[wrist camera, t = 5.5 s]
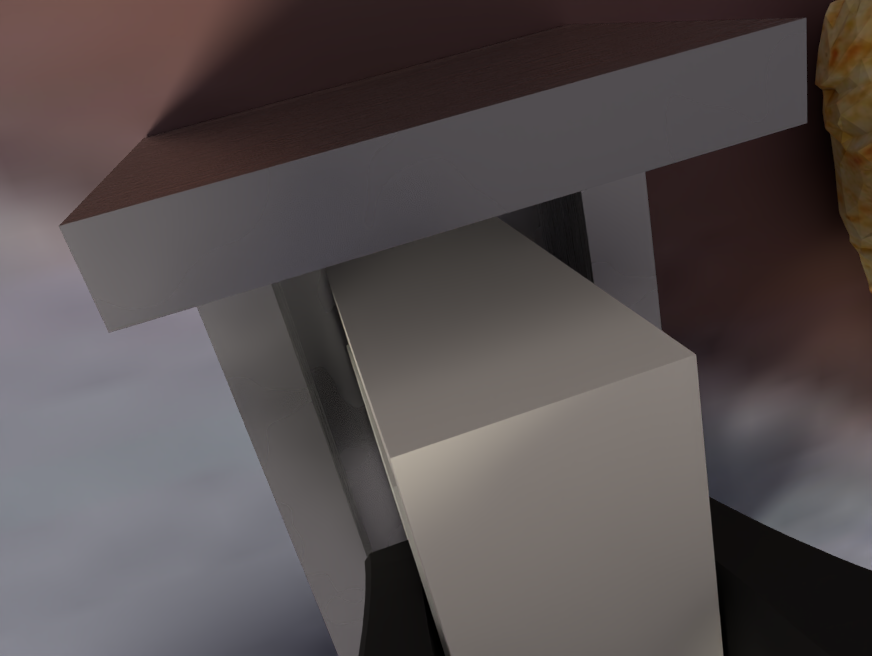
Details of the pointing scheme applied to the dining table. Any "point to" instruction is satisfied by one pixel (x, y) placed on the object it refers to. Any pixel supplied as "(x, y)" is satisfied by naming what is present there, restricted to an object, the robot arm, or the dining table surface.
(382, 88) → the grey metal bracket
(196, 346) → the dining table surface
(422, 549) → the cream rectangular block
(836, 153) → the croissant
